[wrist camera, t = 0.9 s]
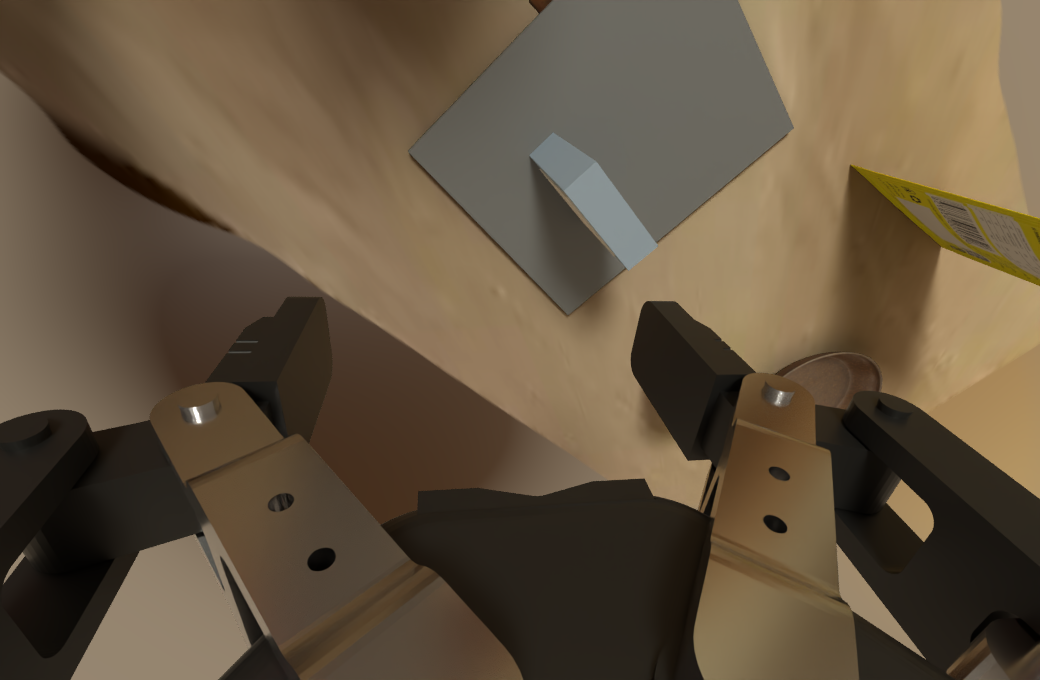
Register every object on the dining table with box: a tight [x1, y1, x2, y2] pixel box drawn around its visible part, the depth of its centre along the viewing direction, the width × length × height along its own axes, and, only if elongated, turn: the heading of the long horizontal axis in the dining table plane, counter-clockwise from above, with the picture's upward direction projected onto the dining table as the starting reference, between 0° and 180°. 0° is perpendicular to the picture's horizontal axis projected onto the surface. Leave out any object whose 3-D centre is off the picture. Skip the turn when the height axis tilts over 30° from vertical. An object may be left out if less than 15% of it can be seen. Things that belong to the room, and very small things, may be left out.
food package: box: [851, 165, 1040, 286], centre depth 33 cm, size 15×1×20 cm, turn 59°
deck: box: [529, 133, 658, 271], centre depth 31 cm, size 6×2×10 cm, turn 41°
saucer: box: [776, 352, 882, 409], centre depth 51 cm, size 15×15×3 cm
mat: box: [408, 0, 794, 315], centre depth 34 cm, size 18×22×1 cm
